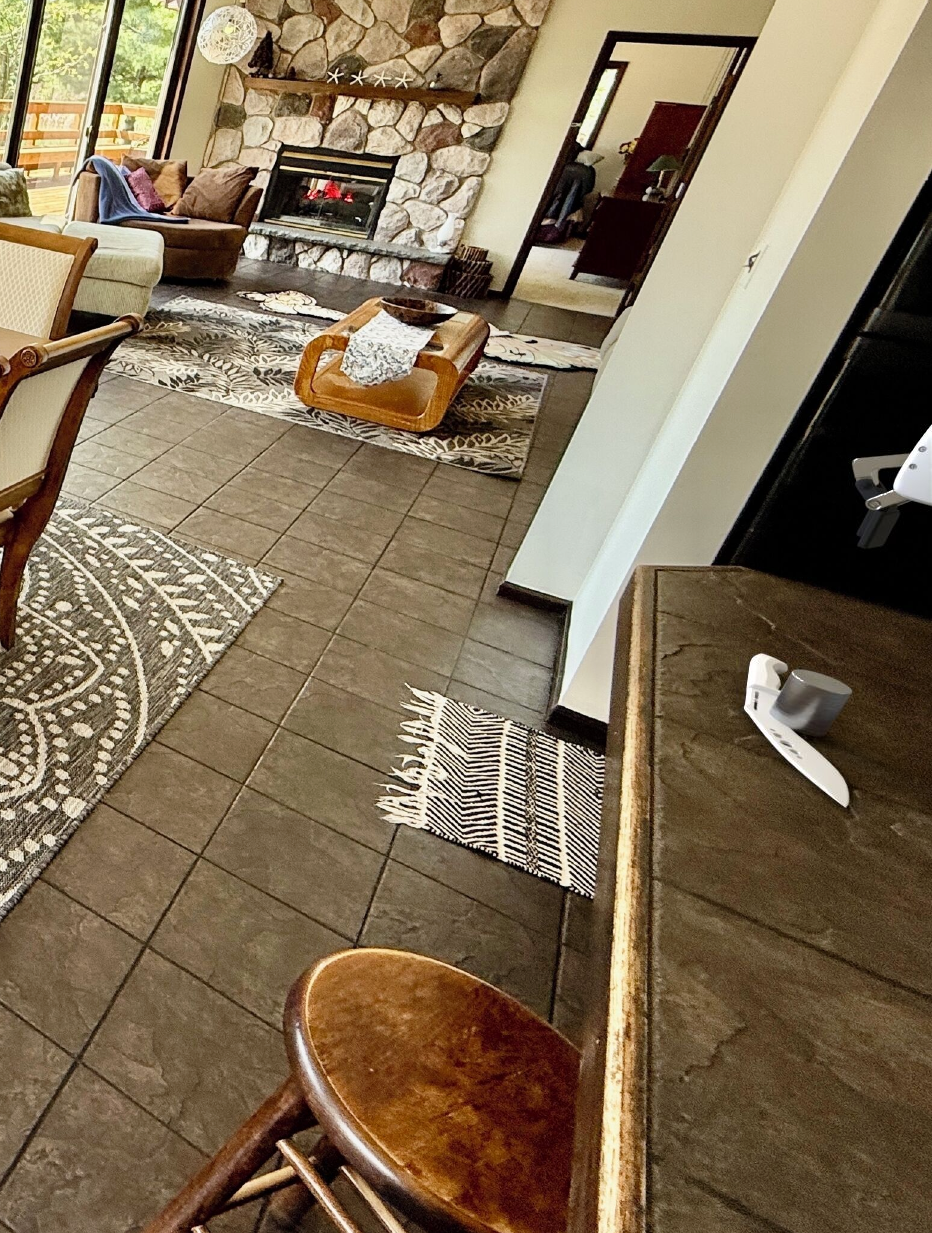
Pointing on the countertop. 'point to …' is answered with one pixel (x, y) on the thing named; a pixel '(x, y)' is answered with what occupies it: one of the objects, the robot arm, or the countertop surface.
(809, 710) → the cylinder
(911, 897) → the countertop surface
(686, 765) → the countertop surface
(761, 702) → the knife
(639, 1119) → the countertop surface
